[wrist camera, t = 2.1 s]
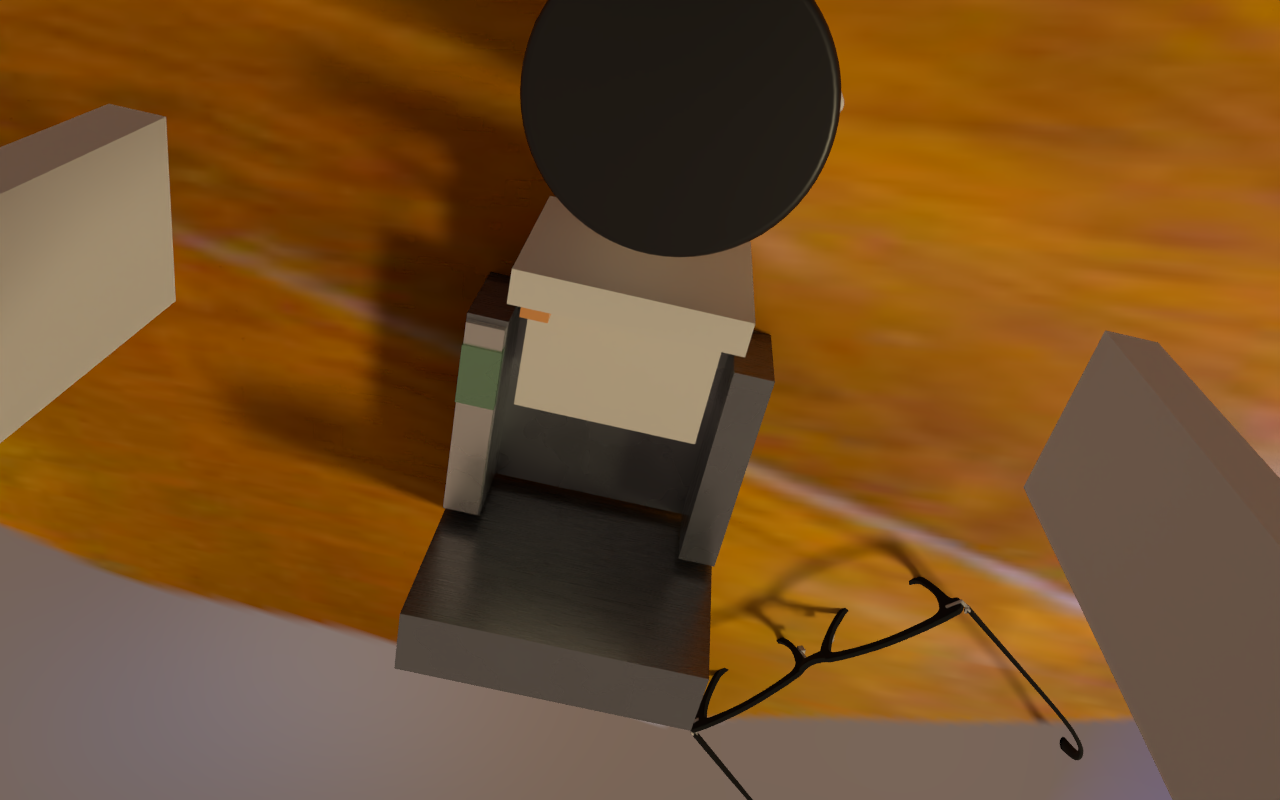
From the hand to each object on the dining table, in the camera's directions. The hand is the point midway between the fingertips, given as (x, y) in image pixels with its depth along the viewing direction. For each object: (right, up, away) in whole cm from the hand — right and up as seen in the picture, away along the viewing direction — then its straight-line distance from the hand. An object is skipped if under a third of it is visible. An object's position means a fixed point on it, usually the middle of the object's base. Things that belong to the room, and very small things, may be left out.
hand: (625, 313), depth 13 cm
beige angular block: (0, +3, +25) cm, 25 cm away
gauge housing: (-1, -2, +29) cm, 29 cm away
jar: (+2, +12, +20) cm, 24 cm away
